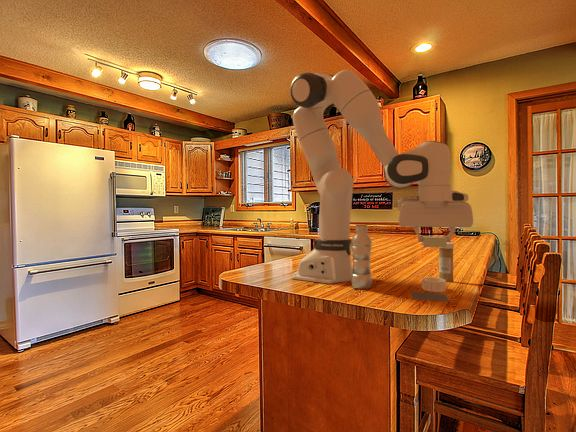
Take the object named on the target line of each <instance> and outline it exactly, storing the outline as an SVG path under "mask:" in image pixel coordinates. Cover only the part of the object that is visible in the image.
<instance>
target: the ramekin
mask: <svg viewBox="0 0 576 432" xmlns="http://www.w3.org/2000/svg"><path fill="white" fill-rule="evenodd" d="M421 288H422V290H424V291H426V292H430V293H444V292H446V291H447V282H446V280H445V279H442V278H439V277H434V276H433V277H432V276H425V277H422V278H421Z"/></svg>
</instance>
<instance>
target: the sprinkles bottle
mask: <svg viewBox="0 0 576 432" xmlns="http://www.w3.org/2000/svg"><path fill="white" fill-rule="evenodd" d="M454 248H455V245H454V242H452V241H451V243H447V247H438V249H439V250H438V255H439V256H438V274H439V275H438V278H442V279H445V280H446V283H451V284H452V283H454Z"/></svg>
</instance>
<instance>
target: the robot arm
mask: <svg viewBox="0 0 576 432" xmlns="http://www.w3.org/2000/svg"><path fill="white" fill-rule="evenodd" d="M289 93H290V96H291V97H290V98H291V99H292V101H293V102H294V104H295V105H297V106H298V107H297V108H296V109H295V110H294V112H293V113H292V123H293V127H294V131H295V134H296V137H297V139H298V143H299V145H300V147H301V149H302V151H303V154H304V156H305V158H306V161H307V164H308V167H309V170H310V174H311V175H312V176H311V177H312V179H313V182H314V184H315V187H316V190H317V192H318V194H319V195H320V196H319V197H320V199H319V200H320V201H319V214H318V238H316V239H315V240H314V241H313V243H312V245H313V249H312V250H310V251H309V252H308V253H307V254H306V255H305V256H303V257H302V258H301V259H300V260H299V263H298V268H297V271H295V272H293V273H292V275H291V279H293V280H297V281H307V282H313V283H314V282H315V283H323V284H328V285H329V284H330V285H331V284H336V283H343V282H351V277H352V271H353V263H352V259H351V258H352V257H351V254H352V245H351V241H352V239H351V221H350V220H351V210H352V202H353V191H354V190H353V189H354V179H353V178H354V177H353V176H352V174H351V173H350V172H349V171H348V170H347V169H344V168H341V164H340V160H339V156H338V153H337V152H338V151H337V148H336V145H335V142H334V141H333V140H334V139H332V136H331V133H330V131H329V129H328V126H327V124H326V121H325V119H324V113H328V112H329V111H330V110H332V107H333V106H335V107H336V108H337V109H338V111H339V112H340V114H341V115H342V117H343V119H345V121H346V122H347V123H348V125H350V127H351V128H353V130H354V131H355V132H356V133H358V134H359V136H360V137H361V138H363V139H364V141H365V142H366V143H367V144H368V145H369V146H370V148H371V150H372V152H373V153H374V155H375V156H376V157H377V158H378V160H379V161H380V163H381V166H382V167H383V173H384V178H385V180H386V183H387V184H388V185H389V186H390V187H391V188H393V189H396V190H406V189H408V188H410V187H411V186H413V185H414V184H417V186H418V189H417V190H418V193H417V196H402V197H401V198H399V199H398V200H397V209H398V211H399V214H398V215H399V216H398V226H400V227H412V228H413V231H414V232H415V234H416V235H417V242H418V243H420V242H421V243H422V242H423V236H424V235H421V234H420V233H419V231H420V227H421V228H422V227H423V228H425V227H426V228H448V231H449V233H448V235H445V236H444V237H445V238H446V239H447V243H451V242H452V236H453V235H454V233H455V232H456V228H471V227H472V226H473V225H474V216H473V209H472V206H471V204H470V203H469V202H468V201H469V195H468V194H467V193H465V192H460V191H457V190H452V189H451V187H452V185H451V181H450V175H451V172H452V170H451V169H452V167H451V165H452V163H451V152H450V149H449V146H448V145H447V143H444V142H441V141H437V140H436V141H435V140H429V141H428V140H427V141H423V142H421V143H420V144H419V145H418V146H416V147H414V148H413V149H410V150H408V151H406V152H402V153H399V152H398V150H397V149H396V147H395V145H394V144H393V143H392V142H391V140H390V138H389V136H388V135H387V133H386V131H385V127H384V123H383V115H382V114H383V113H382V109H381V107H380V104H379V102H378V101H377V99H376V97H375V94H374V93H373V92H372V91H371V89H370V88H369V86H368V85H367V84H366V82H364V80H362V79H361V77H360V76H358V75H357V74H356V73H355V72H354V71H353V70H350V69H343V70H340V71H339V72H337V73H336V74H335V75H332V74H326V73H323V72H303V73H300V74H298V75H296V76H295V77H294V79H292V82H291V84H290V91H289Z"/></svg>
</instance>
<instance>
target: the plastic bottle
mask: <svg viewBox="0 0 576 432" xmlns="http://www.w3.org/2000/svg"><path fill="white" fill-rule="evenodd" d="M368 231H369V230H368V224H355V234H354V235H353V236H352V239H351V245H352V250H351V254H352V270H353V271H352V277H351V281H350V282H351V286H352V288H355V289H357V290H358V289H359V290H367V289H370V288H371V287H372V284H373V276H372V273H371V272H372V271H371V253H372V245H373V244H372V243H373V242H372V241H373V240H372V239H371V237H370V234H368Z"/></svg>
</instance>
